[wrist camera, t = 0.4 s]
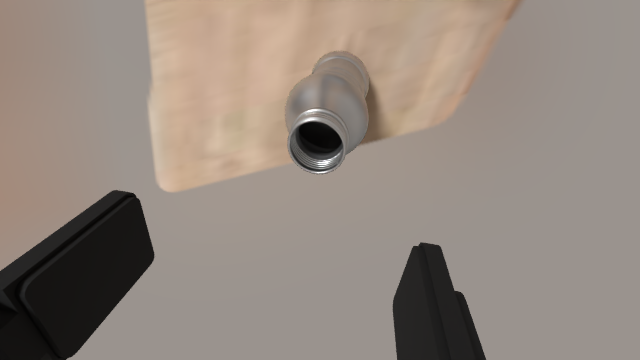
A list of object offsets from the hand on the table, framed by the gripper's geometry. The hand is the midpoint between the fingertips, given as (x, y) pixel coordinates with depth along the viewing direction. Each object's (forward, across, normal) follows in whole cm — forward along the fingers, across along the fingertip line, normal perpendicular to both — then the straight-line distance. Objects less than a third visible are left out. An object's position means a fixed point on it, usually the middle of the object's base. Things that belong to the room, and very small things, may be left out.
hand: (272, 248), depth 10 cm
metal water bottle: (+29, 0, 0) cm, 29 cm away
